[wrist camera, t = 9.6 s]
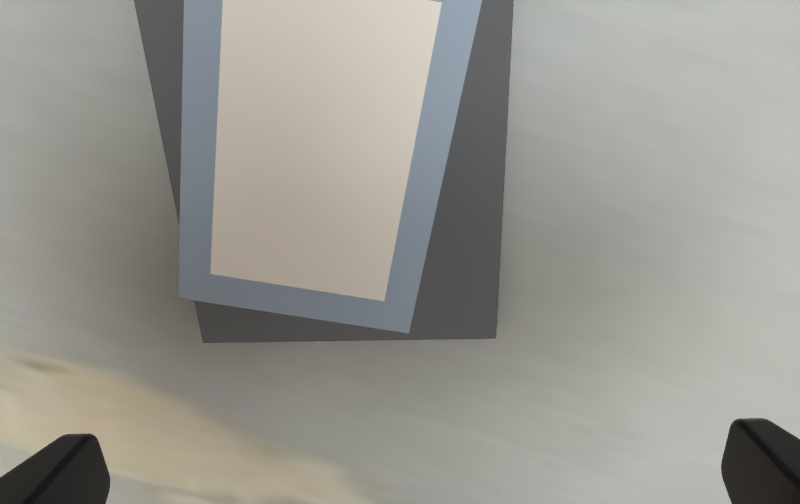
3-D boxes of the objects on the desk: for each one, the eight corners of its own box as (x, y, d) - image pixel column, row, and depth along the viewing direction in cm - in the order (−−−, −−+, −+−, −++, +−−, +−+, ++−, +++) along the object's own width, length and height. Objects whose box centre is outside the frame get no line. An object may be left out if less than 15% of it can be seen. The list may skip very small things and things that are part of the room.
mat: (493, 328, 22) (495, 338, 21) (208, 332, 22) (203, 342, 22) (522, -246, 15) (526, -253, 14) (97, -231, 15) (86, -237, 14)
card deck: (472, -45, 16) (490, -38, 12) (408, 262, 20) (408, 334, 17) (236, -91, 16) (184, -98, 12) (219, 231, 20) (177, 299, 16)
